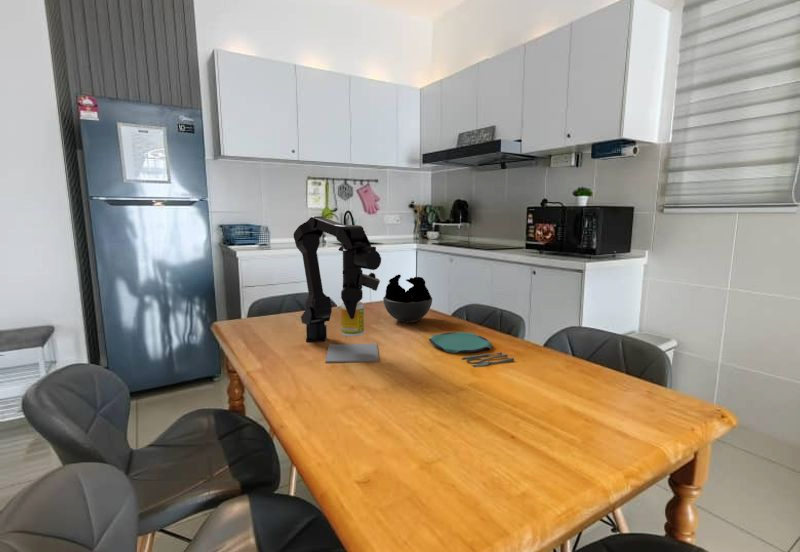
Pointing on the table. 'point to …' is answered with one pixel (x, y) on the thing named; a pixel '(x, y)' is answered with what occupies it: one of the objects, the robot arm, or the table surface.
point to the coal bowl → (407, 299)
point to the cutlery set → (466, 346)
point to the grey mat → (352, 353)
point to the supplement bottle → (352, 321)
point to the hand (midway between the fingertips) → (352, 315)
